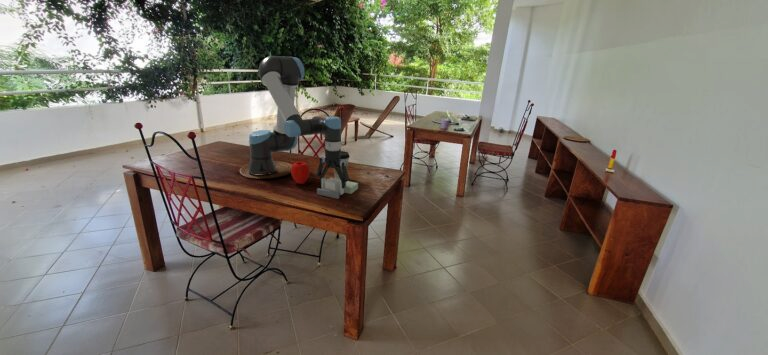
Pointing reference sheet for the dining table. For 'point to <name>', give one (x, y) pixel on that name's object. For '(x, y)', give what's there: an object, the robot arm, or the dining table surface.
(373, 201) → the dining table surface
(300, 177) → the apple
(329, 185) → the gray rectangular prism
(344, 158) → the coffee cup
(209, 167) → the dining table surface
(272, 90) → the robot arm
